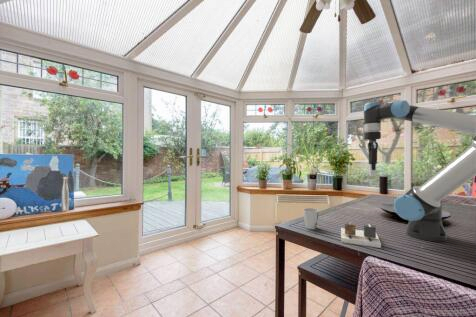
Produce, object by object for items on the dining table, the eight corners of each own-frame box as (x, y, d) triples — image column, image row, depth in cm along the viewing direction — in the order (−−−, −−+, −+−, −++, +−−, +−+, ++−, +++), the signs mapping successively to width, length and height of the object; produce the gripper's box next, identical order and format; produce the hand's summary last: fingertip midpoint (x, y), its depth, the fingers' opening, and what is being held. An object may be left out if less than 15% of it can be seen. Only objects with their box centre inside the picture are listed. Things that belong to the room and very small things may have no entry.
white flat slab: (375, 236, 106) (375, 231, 106) (381, 248, 93) (381, 242, 93) (341, 231, 113) (341, 227, 113) (341, 242, 99) (341, 237, 99)
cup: (319, 230, 115) (319, 212, 115) (304, 229, 116) (304, 211, 116) (317, 225, 123) (317, 208, 122) (302, 225, 124) (302, 207, 124)
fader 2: (374, 235, 99) (374, 225, 99) (375, 238, 96) (375, 227, 96) (363, 234, 101) (363, 223, 101) (364, 236, 98) (364, 225, 98)
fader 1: (355, 233, 102) (355, 222, 102) (355, 235, 99) (355, 224, 99) (344, 232, 104) (344, 221, 104) (344, 234, 101) (344, 223, 101)
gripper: (362, 133, 121) (363, 174, 122) (366, 131, 109) (366, 177, 110) (378, 132, 118) (378, 175, 119) (383, 130, 107) (384, 177, 107)
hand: (373, 176), depth 114 cm, fingers closed
